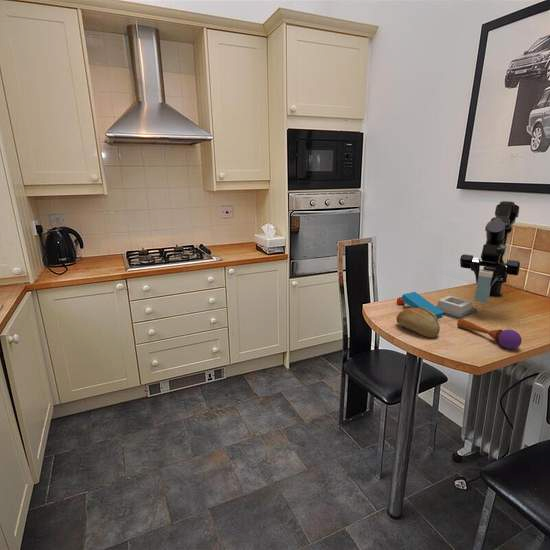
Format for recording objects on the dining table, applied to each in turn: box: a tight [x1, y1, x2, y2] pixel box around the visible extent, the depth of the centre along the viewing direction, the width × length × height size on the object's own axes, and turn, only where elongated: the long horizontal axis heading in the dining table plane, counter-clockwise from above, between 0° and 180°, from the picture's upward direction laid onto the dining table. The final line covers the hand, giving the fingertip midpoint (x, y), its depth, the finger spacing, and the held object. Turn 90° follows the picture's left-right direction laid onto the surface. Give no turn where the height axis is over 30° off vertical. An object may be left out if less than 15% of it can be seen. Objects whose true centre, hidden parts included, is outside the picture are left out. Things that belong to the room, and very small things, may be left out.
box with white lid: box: [474, 268, 494, 304], centre depth 131 cm, size 4×4×11 cm
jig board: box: [435, 295, 478, 320], centre depth 140 cm, size 14×11×4 cm
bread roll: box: [396, 306, 441, 339], centre depth 122 cm, size 10×15×8 cm, turn 39°
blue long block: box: [396, 291, 444, 319], centre depth 140 cm, size 7×7×18 cm
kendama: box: [456, 318, 523, 350], centre depth 117 cm, size 6×6×20 cm
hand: (483, 284), depth 129 cm, fingers closed on box with white lid, 4 cm apart
